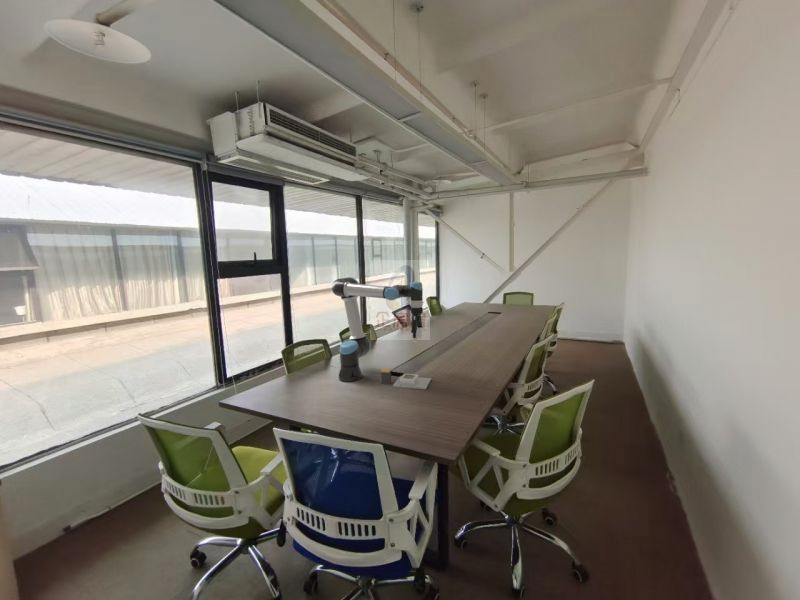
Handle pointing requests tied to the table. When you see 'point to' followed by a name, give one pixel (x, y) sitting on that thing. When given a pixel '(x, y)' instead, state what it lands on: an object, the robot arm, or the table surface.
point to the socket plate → (412, 381)
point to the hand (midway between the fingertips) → (417, 340)
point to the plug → (386, 376)
